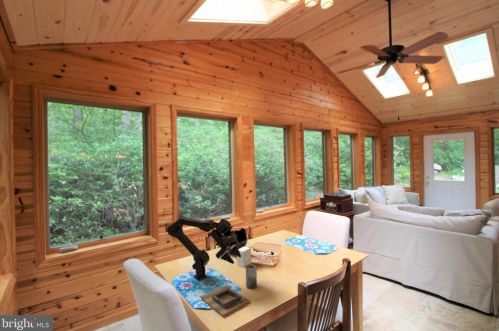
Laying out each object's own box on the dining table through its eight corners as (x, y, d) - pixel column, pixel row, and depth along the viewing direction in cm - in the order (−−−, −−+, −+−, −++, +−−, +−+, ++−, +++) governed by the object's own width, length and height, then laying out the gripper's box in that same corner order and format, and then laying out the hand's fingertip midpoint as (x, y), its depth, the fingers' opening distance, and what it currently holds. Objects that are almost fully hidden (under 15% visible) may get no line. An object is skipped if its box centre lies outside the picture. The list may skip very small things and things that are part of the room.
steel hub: (243, 286, 137) (243, 266, 137) (251, 282, 141) (251, 262, 141) (251, 290, 133) (250, 269, 132) (259, 286, 136) (258, 266, 136)
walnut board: (199, 298, 126) (199, 292, 126) (225, 287, 136) (225, 281, 136) (222, 317, 111) (222, 310, 111) (249, 302, 121) (249, 296, 121)
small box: (244, 261, 170) (244, 246, 169) (251, 263, 166) (251, 247, 166) (237, 265, 163) (236, 249, 163) (243, 267, 160) (243, 251, 159)
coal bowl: (215, 251, 188) (215, 227, 187) (236, 245, 201) (235, 221, 201) (232, 259, 173) (231, 232, 172) (253, 251, 186) (252, 226, 186)
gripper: (220, 234, 132) (239, 257, 128) (235, 225, 149) (252, 245, 146) (207, 247, 135) (226, 270, 131) (223, 236, 152) (240, 257, 149)
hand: (237, 260), depth 139 cm, fingers open, 9 cm apart
